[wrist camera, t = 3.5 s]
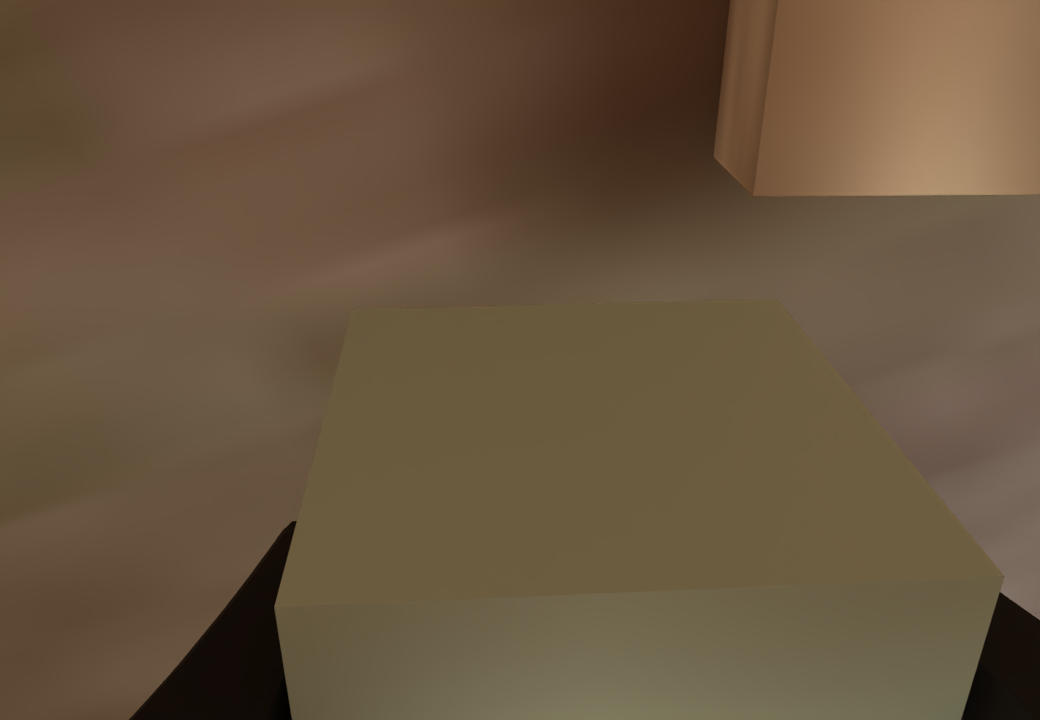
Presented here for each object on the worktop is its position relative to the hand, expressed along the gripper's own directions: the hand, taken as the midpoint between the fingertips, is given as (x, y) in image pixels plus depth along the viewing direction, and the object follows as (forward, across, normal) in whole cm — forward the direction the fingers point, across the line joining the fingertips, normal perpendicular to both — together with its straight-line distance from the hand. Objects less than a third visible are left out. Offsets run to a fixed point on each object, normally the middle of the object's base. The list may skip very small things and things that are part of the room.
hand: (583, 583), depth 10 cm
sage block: (+2, 0, 0) cm, 2 cm away
